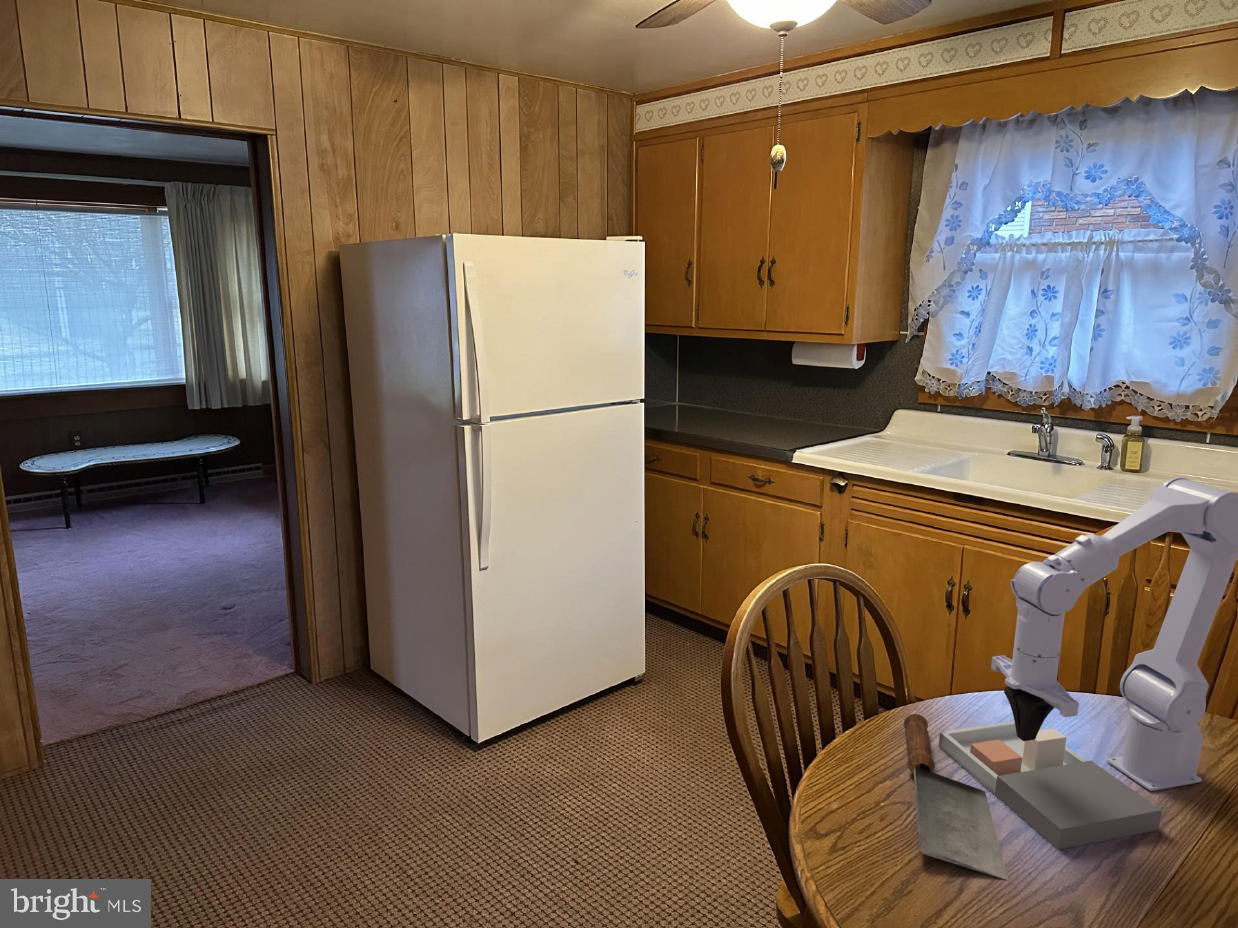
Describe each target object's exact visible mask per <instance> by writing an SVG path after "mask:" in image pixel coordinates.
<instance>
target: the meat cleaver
mask: <svg viewBox="0 0 1238 928" xmlns="http://www.w3.org/2000/svg"><path fill="white" fill-rule="evenodd" d="M903 720H904V721H903V727H904V729H905V731H904V733H905V741H906V750H907V757H908V761H907V768H908V770H909V771H910V773H911V774H913V778H914V779H913V781H914V791H915V795H914V796H915V804H916V805H915V806H916V816H917V817H916V819H917V832H918V843H919V846H918V847H919V852H920V853H921V854H923V855H926V856H929V857H931V858H934V859H939V860H941V861H944V862H948V863H951V864H954V865H957V866H961V867H964V868H967V869H969V870H972V871H973V870H974V871H977V872H980V873H983V874H986V875H989V876H992V877H994V878H999V879H1002V880H1005V881H1009V877H1008V873H1007V870H1006V865H1005V861H1004V858H1003V853H1002V849H1001V847H1000V842H999V840H998V835H997V831H996V827H995V823H994V820H993V817H992V812H991V809H990V806H989V802H988V798H987V797H988V796H987V794H986V791H985V790H982V789H981V788H977V787H974V786H972V785H970V784H969V785H968V784H966V783H963V782H961V781H957V780H955V779H952V778H950V777H947V776H944V775H941V774H938V773H935V772H934V771H935V767H936V766H935V765H936V764H935V762H934V760H933V752H932V748H931V747H932V746H931V741H930V735H929V734H930V733H929V730H928V727H929V723H928V720H927V719H926V718H925V717H924V716H923V715H920V714H918V713H912V714H909V715H907V716H906V717H905V718H904V719H903Z"/></svg>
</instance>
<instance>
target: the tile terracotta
mask: <svg viewBox="0 0 1238 928" xmlns="http://www.w3.org/2000/svg"><path fill="white" fill-rule="evenodd" d="M970 753H971V754H973V755H974V756H975V757H976V758H977V759H979V760H980V761H981V762H982V763H984V764H985V765H986V766H987V767H988V768H990V769H991V770H992V771H993V772H994V773H996V774H997V775H998V776H1001V775H1007V774H1013V773H1019V772H1021V765H1022V757H1021V756H1020V755H1019V754H1017V753H1016V752H1015V751H1013V750H1012V749H1011V748H1010V747H1008V746H1007V745H1006V744H1004V743H1003V742H1002V741H1000V740H993V741H986V742H980V743H973V744H971V747H970Z"/></svg>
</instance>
